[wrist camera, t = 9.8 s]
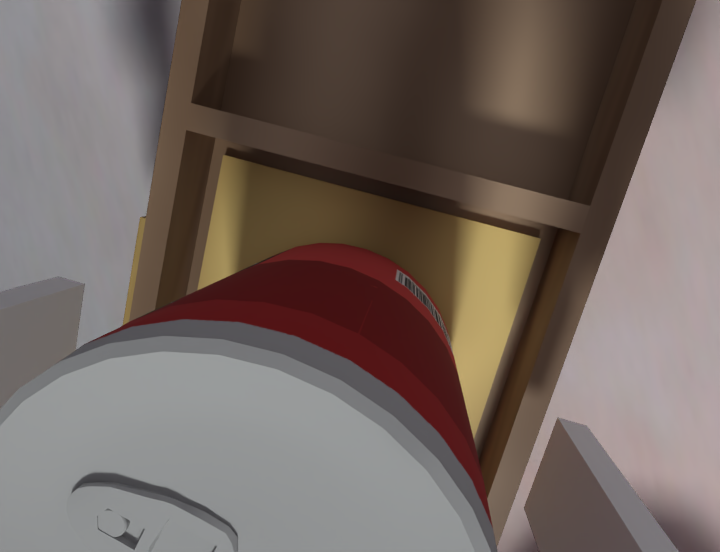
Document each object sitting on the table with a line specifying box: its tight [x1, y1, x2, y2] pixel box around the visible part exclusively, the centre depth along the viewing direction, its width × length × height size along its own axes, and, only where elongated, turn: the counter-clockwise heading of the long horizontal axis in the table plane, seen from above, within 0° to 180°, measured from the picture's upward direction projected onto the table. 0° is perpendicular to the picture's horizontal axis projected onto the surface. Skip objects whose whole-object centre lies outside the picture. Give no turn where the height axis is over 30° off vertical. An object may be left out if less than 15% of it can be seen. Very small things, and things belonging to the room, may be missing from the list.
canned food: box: [0, 243, 497, 552], centre depth 12 cm, size 8×8×11 cm
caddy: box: [123, 0, 696, 546], centre depth 17 cm, size 14×39×3 cm, turn 165°
